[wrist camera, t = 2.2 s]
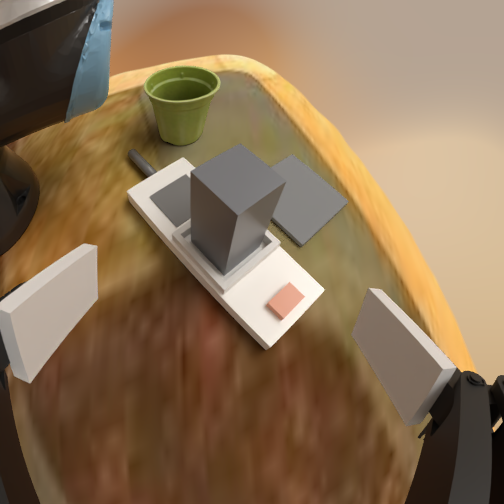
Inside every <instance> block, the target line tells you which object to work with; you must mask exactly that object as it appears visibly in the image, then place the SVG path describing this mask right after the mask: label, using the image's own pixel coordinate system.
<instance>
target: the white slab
mask: <svg viewBox="0 0 504 504" xmlns="http://www.w3.org/2000/svg"><path fill="white" fill-rule="evenodd" d="M128 156H129V157H130V159H131V160H132V161H133V162H134V163H135V164H136V165H137V166H138V167H139V168H140V169H141V170H142V171H143V173H144V174H145V175H146V176H147V177H148V178H147V179H145V180H144V181H142V182H140V183H139V184H137V185H136V186H134V187H132V188H131V189H129V190H128V191H127V194H128V198H129V201H130V203H131V204H132V205H133V207H134V208H135V209H136V210H137V211H138V213H139V214H140V215H141V216H142V217H143V218H144V220H145V221H146V222H147V223H148V224H149V226H150V227H151V228H152V229H153V230H154V231H155V233H156V234H157V235H158V236H159V237H160V238H161V239H162V241H163V242H164V243H165V244H166V245H167V246H168V247H169V249H170V250H171V251H172V252H173V253H174V254H175V255H176V256H177V258H178V259H179V260H180V261H181V262H182V263H183V264H184V265H185V267H186V268H187V269H188V270H189V271H190V272H191V273H192V274H193V275H194V276H195V278H196V279H197V280H198V281H199V282H200V283H201V284H202V285H203V286H204V287H205V288H206V289H207V290H208V292H209V293H210V294H211V295H212V296H213V297H214V298H215V299H216V300H217V301H218V302H219V303H220V304H221V305H222V306H223V307H224V308H225V310H226V311H227V312H228V313H229V314H230V315H231V316H232V317H233V318H234V319H235V320H236V321H237V322H238V323H239V324H240V325H241V326H242V327H243V328H244V329H245V330H246V331H247V332H248V333H249V334H250V335H251V336H252V337H253V338H254V339H255V340H256V341H257V342H258V343H259V344H260V345H261V346H262V347H263V348H264V349H265V350H267V349H268V348H270V347H271V346H272V345H273V344H274V343H275V342H276V341H277V340H278V339H279V338H280V337H281V336H282V335H283V334H284V333H285V332H286V331H287V330H288V329H289V328H290V327H291V326H292V325H293V324H294V323H295V322H296V321H297V320H298V318H299V317H300V316H301V315H302V314H303V313H304V312H305V311H306V310H307V309H308V308H309V307H310V306H311V305H312V303H313V302H314V301H315V300H316V299H317V298H318V297H319V296H320V295H321V294H322V293H323V291H324V290H325V289H324V288H323V287H322V286H321V285H319V284H318V283H317V282H316V281H315V280H314V279H313V278H312V277H311V276H310V275H309V274H308V273H307V272H306V271H305V270H304V269H303V268H302V267H301V266H300V265H299V264H298V263H297V262H296V261H295V260H294V259H292V258H291V257H290V256H289V255H288V254H287V253H286V252H285V251H284V250H283V249H282V248H281V247H280V246H279V245H280V243H281V242H280V241H279V240H278V239H277V238H276V237H275V236H274V235H273V234H271V233H270V232H269V231H268V230H266V233H265V235H264V238H263V240H262V242H261V245H260V247H259V248H257V249H256V250H255V251H254V252H253V253H251V254H250V255H249V256H248V257H247V258H245V259H244V260H243V261H242V262H241V263H239V264H238V265H237V266H236V267H235V268H233V269H232V270H231V271H230V272H229V273H227V274H226V275H225V276H224V275H223V274H222V273H221V272H220V271H219V270H218V269H217V268H216V267H215V266H214V265H213V264H212V263H211V262H210V261H209V260H208V259H207V258H206V257H205V256H204V254H203V253H202V252H201V251H200V250H199V249H198V248H197V247H196V246H195V245H194V244H193V243H192V242H191V216H190V171H192V170H193V169H195V167H194V166H192V165H191V164H190V163H189V162H188V161H187V160H186V159H185V158H184V157H183V158H181V159H179V160H178V161H176V162H174V163H172V164H170V165H169V166H167V167H165V168H164V169H162V170H160V171H158V172H156V170H155V169H154V168H153V167H152V166H151V165H150V164H149V163H148V162H147V161H146V160H145V159H144V158H143V157H142V156H141V155H140V154H139V153H138V152H137V151H136V150H135V149H131V150H130V151H129V152H128Z"/></svg>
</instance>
